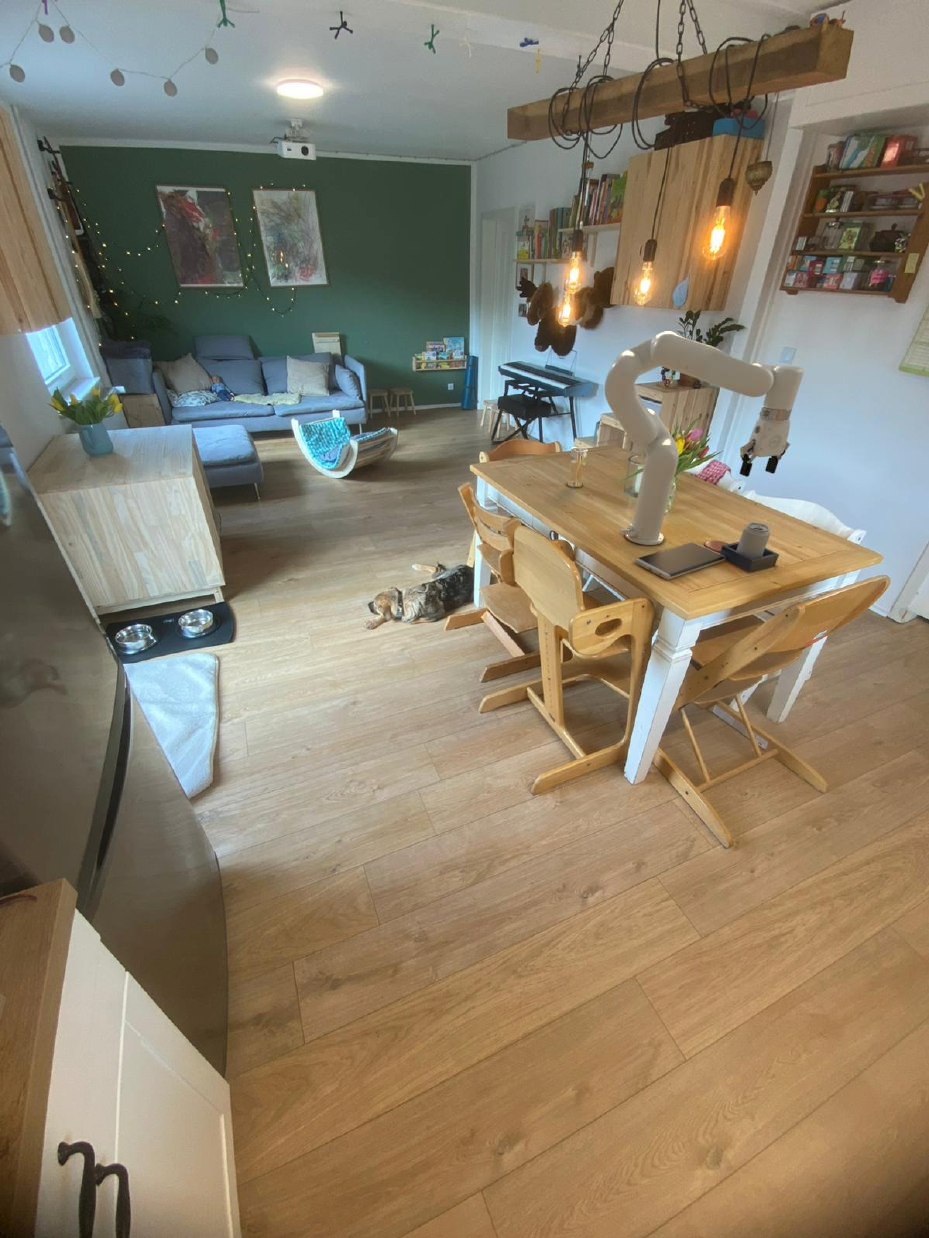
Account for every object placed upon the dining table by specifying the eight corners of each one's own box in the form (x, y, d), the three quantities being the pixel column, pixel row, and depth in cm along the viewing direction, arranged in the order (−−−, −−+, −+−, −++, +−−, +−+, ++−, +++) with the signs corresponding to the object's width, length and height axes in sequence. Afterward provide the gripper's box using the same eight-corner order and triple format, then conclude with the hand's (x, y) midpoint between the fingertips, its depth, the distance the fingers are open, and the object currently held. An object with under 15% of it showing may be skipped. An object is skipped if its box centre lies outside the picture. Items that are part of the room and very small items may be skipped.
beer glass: (585, 484, 225) (590, 448, 217) (579, 488, 220) (584, 452, 212) (570, 481, 228) (574, 446, 220) (563, 485, 223) (568, 449, 215)
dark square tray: (748, 572, 161) (752, 560, 158) (718, 556, 169) (722, 545, 167) (774, 566, 165) (779, 554, 163) (744, 550, 174) (748, 539, 171)
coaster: (719, 554, 171) (720, 553, 170) (699, 544, 177) (700, 542, 177) (738, 550, 174) (739, 549, 173) (718, 540, 180) (718, 538, 180)
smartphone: (633, 563, 164) (634, 558, 163) (690, 545, 176) (692, 540, 175) (667, 581, 154) (668, 576, 154) (725, 561, 167) (727, 556, 166)
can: (733, 563, 165) (745, 528, 159) (733, 554, 171) (744, 519, 165) (760, 568, 163) (773, 532, 156) (758, 558, 169) (771, 523, 162)
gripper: (761, 419, 145) (743, 480, 154) (809, 415, 150) (789, 474, 159) (741, 413, 151) (724, 473, 160) (788, 409, 156) (769, 467, 165)
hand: (756, 473), depth 160 cm, fingers open, 9 cm apart
